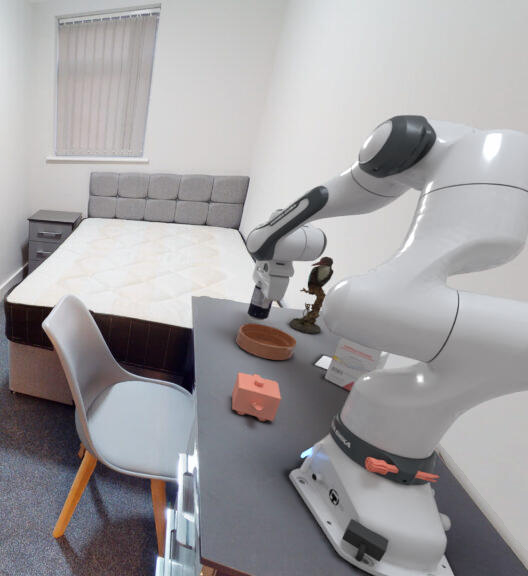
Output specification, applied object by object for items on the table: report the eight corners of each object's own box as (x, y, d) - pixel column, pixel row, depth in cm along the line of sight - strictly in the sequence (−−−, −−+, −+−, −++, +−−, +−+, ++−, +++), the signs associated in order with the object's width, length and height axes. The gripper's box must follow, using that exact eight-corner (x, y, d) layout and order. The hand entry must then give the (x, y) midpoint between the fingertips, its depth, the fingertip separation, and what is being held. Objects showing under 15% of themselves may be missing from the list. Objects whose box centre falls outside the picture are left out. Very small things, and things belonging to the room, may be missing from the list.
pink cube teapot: (231, 421, 81) (240, 391, 78) (231, 391, 91) (239, 363, 88) (273, 434, 78) (284, 403, 75) (268, 401, 87) (278, 372, 84)
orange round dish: (298, 365, 102) (303, 351, 100) (241, 355, 106) (245, 342, 104) (282, 341, 114) (287, 328, 113) (231, 332, 119) (235, 320, 117)
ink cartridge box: (373, 392, 92) (397, 341, 86) (362, 397, 90) (386, 345, 84) (333, 373, 99) (354, 325, 93) (323, 378, 97) (343, 328, 91)
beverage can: (270, 322, 116) (281, 287, 112) (250, 320, 117) (260, 285, 113) (262, 314, 122) (273, 280, 117) (244, 312, 123) (253, 279, 118)
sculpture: (280, 329, 121) (304, 257, 112) (296, 318, 129) (320, 250, 120) (309, 340, 115) (337, 264, 106) (325, 328, 123) (352, 256, 114)
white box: (314, 364, 102) (315, 362, 102) (323, 355, 107) (324, 353, 107) (351, 378, 96) (352, 376, 96) (359, 368, 101) (360, 366, 101)
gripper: (253, 251, 122) (243, 290, 128) (270, 270, 104) (257, 314, 110) (275, 253, 120) (263, 292, 126) (296, 273, 102) (282, 318, 108)
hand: (261, 303), depth 118 cm, fingers closed on beverage can, 5 cm apart
